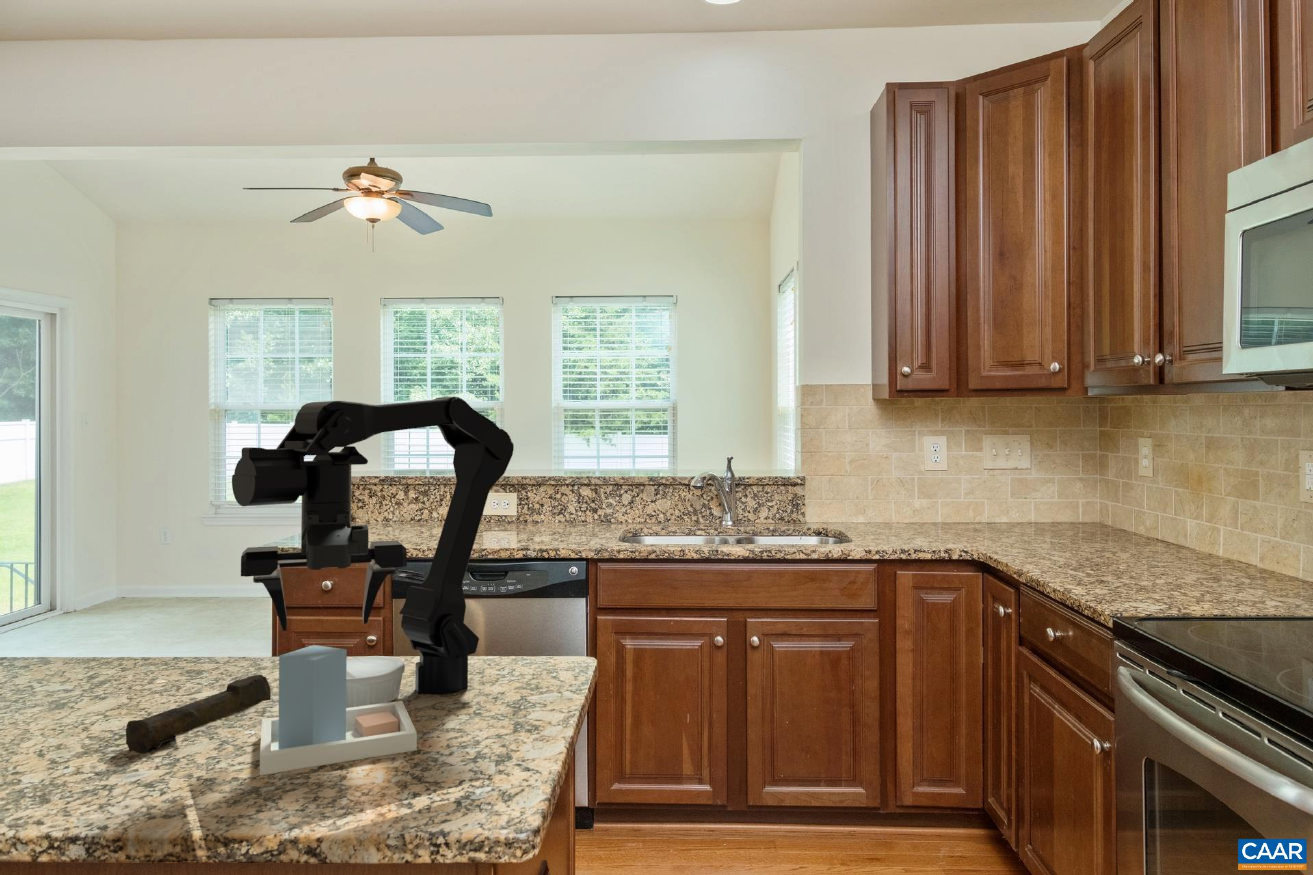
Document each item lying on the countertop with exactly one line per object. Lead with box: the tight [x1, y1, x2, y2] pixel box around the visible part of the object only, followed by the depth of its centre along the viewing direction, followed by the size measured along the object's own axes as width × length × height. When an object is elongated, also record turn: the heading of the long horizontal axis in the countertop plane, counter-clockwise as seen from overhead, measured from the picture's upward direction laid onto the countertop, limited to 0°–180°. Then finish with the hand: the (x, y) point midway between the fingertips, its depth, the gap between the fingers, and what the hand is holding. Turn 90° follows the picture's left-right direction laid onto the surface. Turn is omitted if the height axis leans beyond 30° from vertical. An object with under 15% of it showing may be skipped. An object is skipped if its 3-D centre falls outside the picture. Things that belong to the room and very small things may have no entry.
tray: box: [259, 700, 418, 776], centre depth 92 cm, size 16×12×3 cm
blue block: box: [278, 644, 348, 750], centre depth 90 cm, size 5×5×11 cm
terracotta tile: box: [355, 711, 398, 737], centre depth 96 cm, size 4×4×2 cm
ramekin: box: [346, 655, 406, 708], centre depth 108 cm, size 11×11×5 cm
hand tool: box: [125, 674, 271, 754], centre depth 100 cm, size 19×4×5 cm, turn 156°
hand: (325, 626), depth 98 cm, fingers open, 9 cm apart
